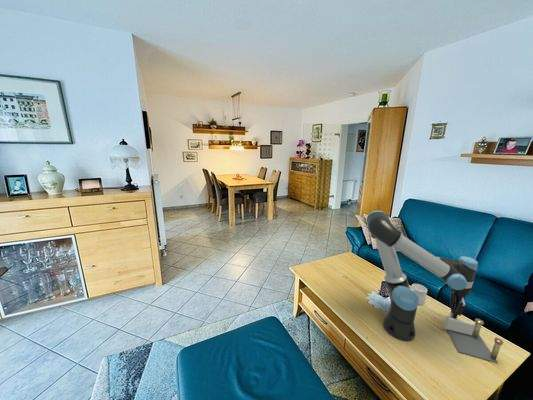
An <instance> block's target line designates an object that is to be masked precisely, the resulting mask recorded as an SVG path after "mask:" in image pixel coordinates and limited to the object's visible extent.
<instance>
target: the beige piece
mask: <svg viewBox="0 0 533 400" xmlns="http://www.w3.org/2000/svg"><path fill="white" fill-rule="evenodd" d="M449 316H450V315H446V316H445V319H444V323H443V328H444V329H445V330H446V329H448V330H452V331H456V332H460V333H464V334H468V335H472V334H473V331H474V327H475V323H474V322H470V321H466V320H462V319H458V318H457V319H454V318H450V317H449Z"/></svg>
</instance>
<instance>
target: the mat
mask: <svg viewBox="0 0 533 400" xmlns="http://www.w3.org/2000/svg"><path fill="white" fill-rule="evenodd" d="M445 330H446V332H447V334H448V336H449V337H450V339H451V342H452V344H453V346H454V348H455V349H456V350H457V353H458V354H462V355H466V356H470V357H474V358H477V359H481V360H484V361H488V362H492V363H494V364H498V363H499V362H498V360H497V359H496V360H493V359H492V358H490V355H491V352H492V350H490V349H489V347H488V345H487V344H486V343H485V341H484V339H482V337H481V335H480V334H479V336H478V339H475V338H473V337H472V335H468V334H464V333H460V332H456V331H452V330H448V329H445Z"/></svg>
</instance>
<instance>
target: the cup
mask: <svg viewBox="0 0 533 400" xmlns="http://www.w3.org/2000/svg"><path fill="white" fill-rule="evenodd" d="M410 289H411V290H412V291H414V292H415V293H416V294H417V296H418V306H423V305H425V302H426V298H427V294H428V288H427V287H425V286H424V285H422V284H419V283H413V284H411V287H410Z"/></svg>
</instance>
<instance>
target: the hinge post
mask: <svg viewBox="0 0 533 400" xmlns="http://www.w3.org/2000/svg"><path fill="white" fill-rule="evenodd" d="M474 322H475V323H474V324H475V327H474V331H473V334H472V337H473V338H475V339H478V336H479V335H480V332H481V329H482V326H483V325H484V323H485V322H484V320H482V319H480V318H476V317H475V319H474Z"/></svg>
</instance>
